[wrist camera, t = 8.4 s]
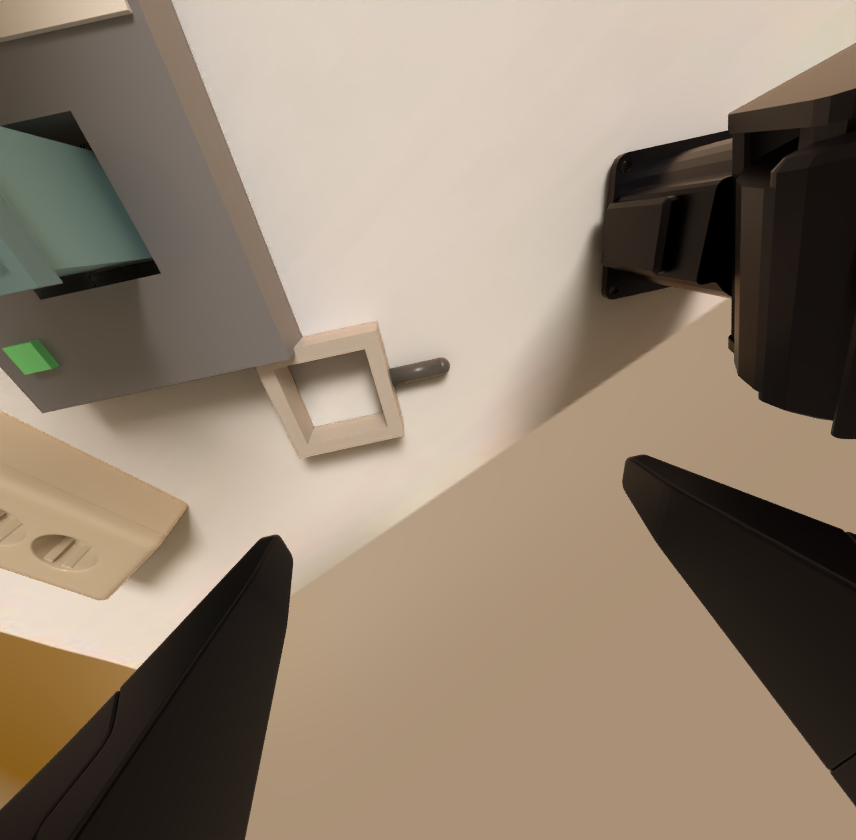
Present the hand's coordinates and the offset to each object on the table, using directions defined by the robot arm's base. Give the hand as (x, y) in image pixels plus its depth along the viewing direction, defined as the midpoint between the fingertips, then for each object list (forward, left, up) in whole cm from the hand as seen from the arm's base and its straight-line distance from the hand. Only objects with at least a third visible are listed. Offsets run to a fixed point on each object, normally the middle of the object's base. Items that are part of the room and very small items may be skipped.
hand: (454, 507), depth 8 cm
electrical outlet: (+25, +2, -13) cm, 29 cm away
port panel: (+12, -9, -12) cm, 20 cm away
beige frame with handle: (+3, +1, -13) cm, 13 cm away
